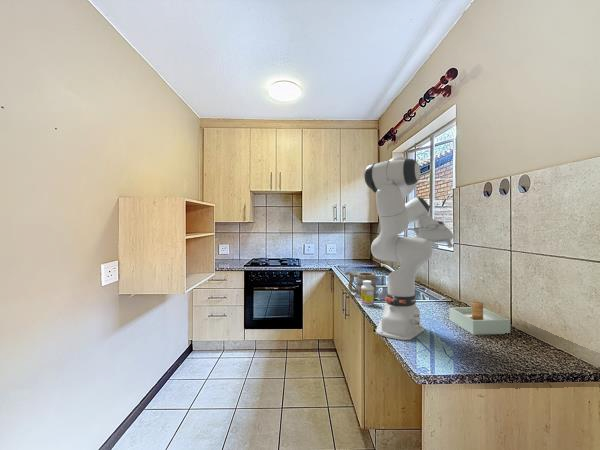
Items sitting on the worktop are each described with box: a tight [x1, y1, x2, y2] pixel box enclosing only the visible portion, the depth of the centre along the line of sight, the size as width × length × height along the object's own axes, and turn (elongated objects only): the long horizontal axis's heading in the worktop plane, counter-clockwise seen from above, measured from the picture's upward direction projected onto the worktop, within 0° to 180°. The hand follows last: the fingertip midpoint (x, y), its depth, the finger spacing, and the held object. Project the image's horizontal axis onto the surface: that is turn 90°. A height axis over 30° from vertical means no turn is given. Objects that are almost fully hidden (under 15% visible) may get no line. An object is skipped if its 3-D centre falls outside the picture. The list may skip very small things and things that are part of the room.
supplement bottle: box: [360, 280, 375, 307], centre depth 162 cm, size 7×7×13 cm
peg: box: [471, 301, 484, 320], centre depth 125 cm, size 4×4×10 cm
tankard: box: [344, 270, 379, 300], centre depth 180 cm, size 20×13×15 cm, turn 57°
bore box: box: [448, 306, 511, 336], centre depth 125 cm, size 18×15×6 cm
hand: (444, 247), depth 143 cm, fingers open, 8 cm apart
